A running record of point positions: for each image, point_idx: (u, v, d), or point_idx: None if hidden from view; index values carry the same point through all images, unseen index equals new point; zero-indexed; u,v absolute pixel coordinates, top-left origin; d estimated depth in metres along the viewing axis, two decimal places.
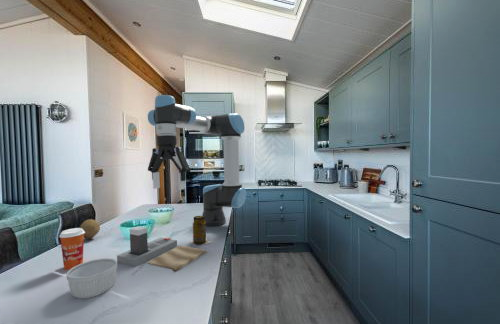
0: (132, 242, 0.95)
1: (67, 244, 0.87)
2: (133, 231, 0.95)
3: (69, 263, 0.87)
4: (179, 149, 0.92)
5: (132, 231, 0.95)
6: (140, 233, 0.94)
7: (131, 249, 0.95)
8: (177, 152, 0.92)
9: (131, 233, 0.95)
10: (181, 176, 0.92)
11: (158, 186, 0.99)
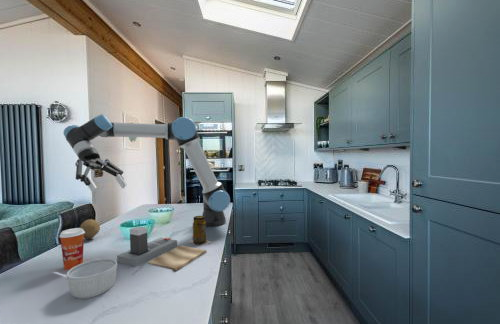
0: (132, 242, 0.95)
1: (67, 244, 0.87)
2: (133, 231, 0.95)
3: (69, 263, 0.87)
4: (76, 163, 1.01)
5: (132, 231, 0.95)
6: (140, 233, 0.94)
7: (131, 249, 0.95)
8: None
9: (131, 233, 0.95)
10: None
11: (123, 184, 1.09)
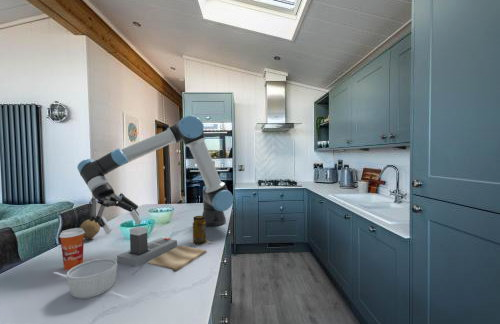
0: (132, 242, 0.95)
1: (67, 244, 0.87)
2: (133, 231, 0.95)
3: (69, 263, 0.87)
4: (90, 202, 0.97)
5: (132, 231, 0.95)
6: (140, 233, 0.94)
7: (131, 249, 0.95)
8: None
9: (131, 233, 0.95)
10: None
11: (138, 221, 1.04)
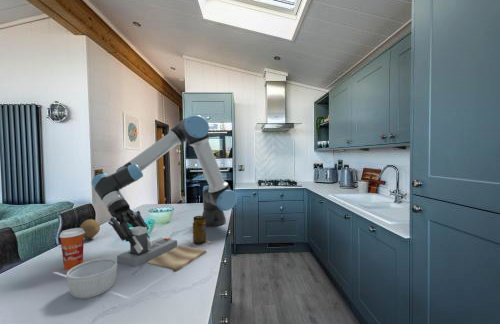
0: None
1: (67, 244, 0.87)
2: (133, 231, 0.95)
3: (69, 263, 0.87)
4: (110, 223, 0.94)
5: (132, 231, 0.95)
6: (140, 233, 0.94)
7: (131, 249, 0.95)
8: None
9: (131, 233, 0.95)
10: None
11: (149, 245, 0.96)
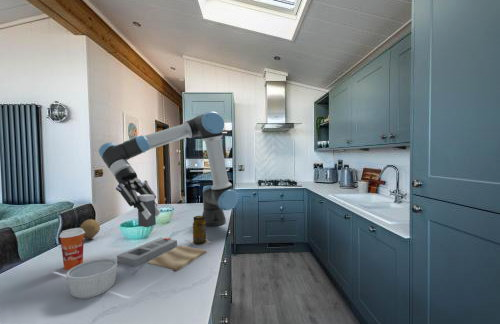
0: None
1: (67, 244, 0.87)
2: (141, 197, 0.94)
3: (69, 263, 0.87)
4: (118, 189, 0.93)
5: (140, 198, 0.94)
6: (148, 199, 0.93)
7: (139, 216, 0.95)
8: None
9: None
10: None
11: (157, 212, 0.96)
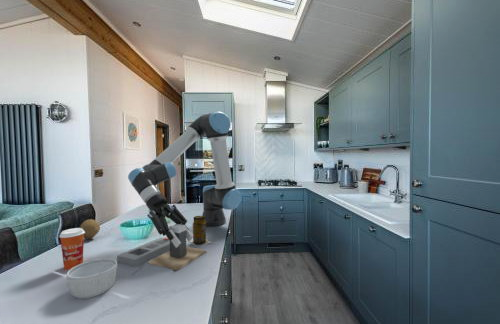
0: None
1: (67, 244, 0.87)
2: (173, 229, 0.95)
3: (69, 263, 0.87)
4: (149, 216, 0.94)
5: (172, 229, 0.95)
6: (180, 231, 0.94)
7: (170, 247, 0.96)
8: None
9: None
10: None
11: (190, 237, 0.98)
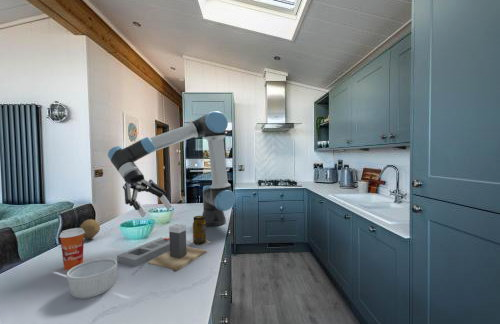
0: (172, 240, 0.95)
1: (67, 244, 0.87)
2: (173, 229, 0.95)
3: (69, 263, 0.87)
4: (124, 187, 0.99)
5: (172, 229, 0.95)
6: (180, 231, 0.94)
7: (170, 247, 0.96)
8: None
9: (171, 231, 0.95)
10: None
11: (169, 205, 1.07)
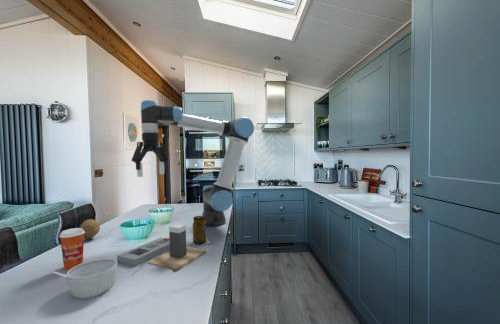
0: (172, 240, 0.95)
1: (67, 244, 0.87)
2: (173, 229, 0.95)
3: (69, 263, 0.87)
4: (138, 143, 1.13)
5: (172, 229, 0.95)
6: (180, 231, 0.94)
7: (170, 247, 0.96)
8: None
9: (171, 231, 0.95)
10: None
11: (162, 173, 1.25)
